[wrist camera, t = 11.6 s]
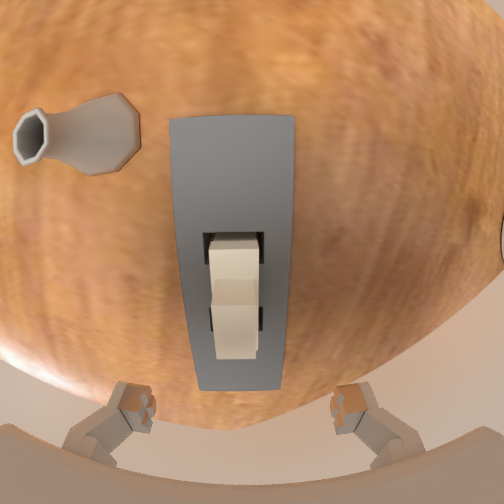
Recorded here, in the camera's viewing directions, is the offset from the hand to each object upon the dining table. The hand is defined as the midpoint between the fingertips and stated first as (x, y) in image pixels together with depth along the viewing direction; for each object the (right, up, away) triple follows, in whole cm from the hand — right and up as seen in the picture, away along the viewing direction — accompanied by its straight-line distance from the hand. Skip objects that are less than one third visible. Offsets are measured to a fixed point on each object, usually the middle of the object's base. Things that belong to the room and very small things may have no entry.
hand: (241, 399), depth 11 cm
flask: (-12, +16, +9) cm, 22 cm away
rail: (-1, +5, +13) cm, 14 cm away
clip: (-1, +5, +13) cm, 14 cm away
